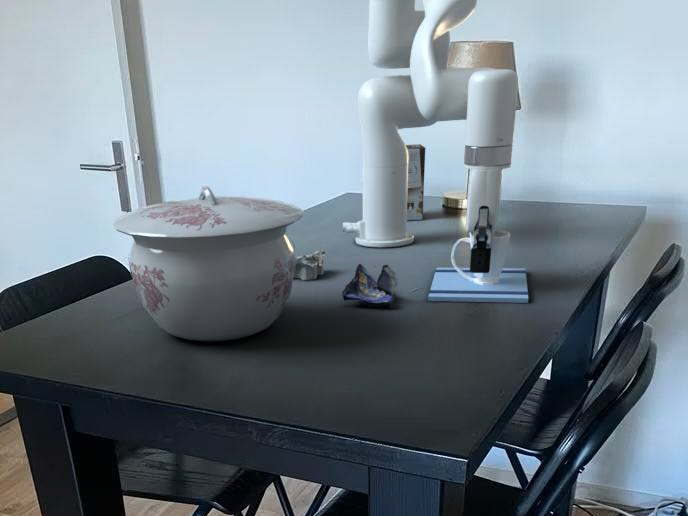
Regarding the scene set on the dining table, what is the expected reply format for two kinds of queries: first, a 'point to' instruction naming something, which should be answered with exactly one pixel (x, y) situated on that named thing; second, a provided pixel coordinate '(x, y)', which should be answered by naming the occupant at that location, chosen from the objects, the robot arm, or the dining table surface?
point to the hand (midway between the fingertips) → (480, 265)
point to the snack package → (372, 287)
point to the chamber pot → (212, 263)
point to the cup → (497, 259)
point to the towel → (479, 287)
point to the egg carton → (309, 265)
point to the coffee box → (415, 181)
